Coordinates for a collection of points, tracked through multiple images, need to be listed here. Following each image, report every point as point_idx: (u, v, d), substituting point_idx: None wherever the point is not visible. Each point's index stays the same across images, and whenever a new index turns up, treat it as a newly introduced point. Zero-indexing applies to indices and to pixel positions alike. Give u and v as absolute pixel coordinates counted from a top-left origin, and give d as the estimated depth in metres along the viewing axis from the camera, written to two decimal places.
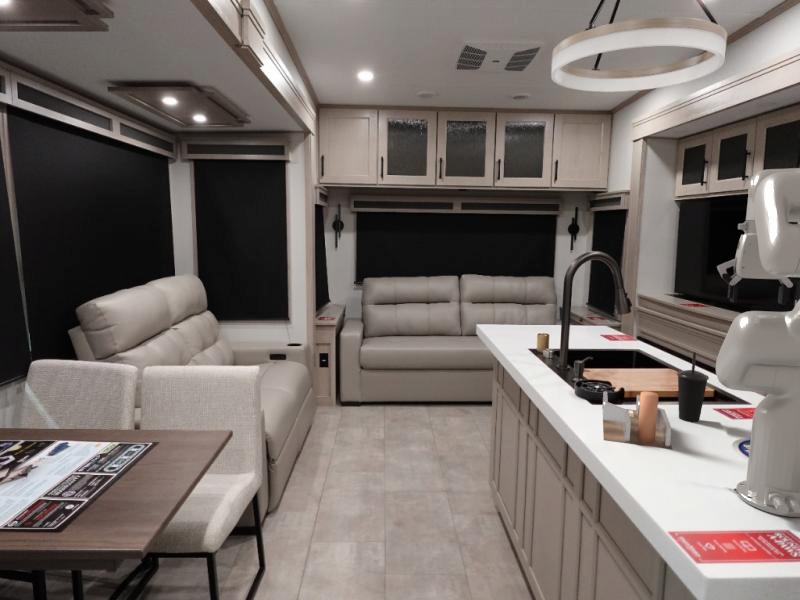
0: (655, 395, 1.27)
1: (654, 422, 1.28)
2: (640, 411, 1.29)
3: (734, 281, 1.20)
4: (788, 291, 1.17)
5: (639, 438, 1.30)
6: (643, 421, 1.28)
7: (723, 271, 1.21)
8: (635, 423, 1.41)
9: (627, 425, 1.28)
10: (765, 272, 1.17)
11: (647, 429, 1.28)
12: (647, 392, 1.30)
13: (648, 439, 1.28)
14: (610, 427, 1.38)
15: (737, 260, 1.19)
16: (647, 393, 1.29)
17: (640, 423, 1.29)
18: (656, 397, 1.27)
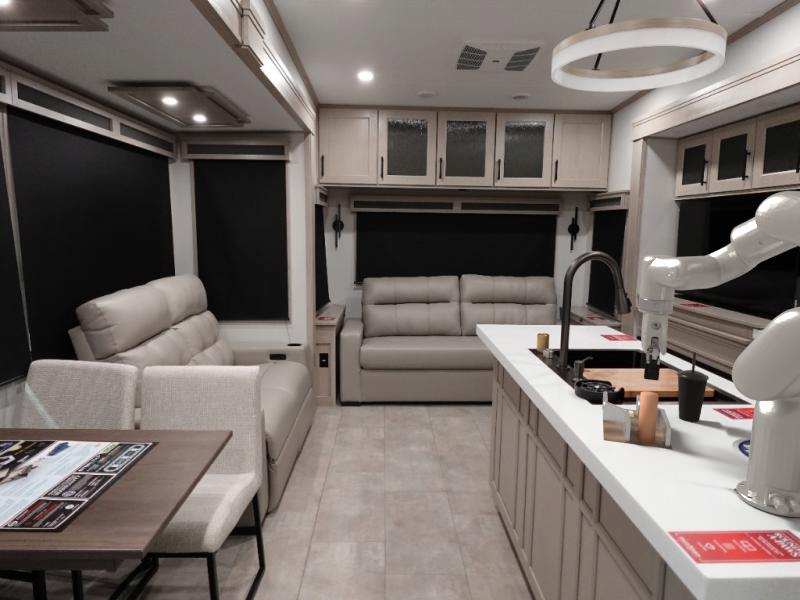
0: (655, 395, 1.27)
1: (654, 422, 1.28)
2: (640, 411, 1.29)
3: None
4: None
5: (639, 438, 1.30)
6: (643, 421, 1.28)
7: (657, 353, 1.20)
8: (635, 423, 1.41)
9: (627, 425, 1.28)
10: None
11: (647, 429, 1.28)
12: (647, 392, 1.30)
13: (648, 439, 1.28)
14: (610, 427, 1.38)
15: (661, 340, 1.22)
16: (647, 393, 1.29)
17: (640, 423, 1.29)
18: (656, 397, 1.27)
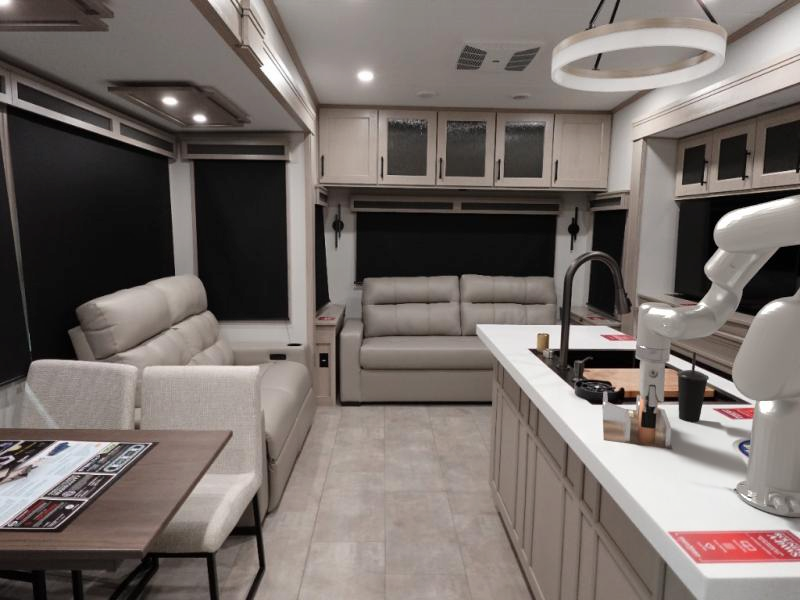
0: None
1: None
2: (640, 411, 1.29)
3: (655, 409, 1.26)
4: None
5: (639, 438, 1.30)
6: None
7: None
8: (635, 423, 1.41)
9: (627, 425, 1.28)
10: None
11: (647, 429, 1.28)
12: None
13: (648, 439, 1.28)
14: (610, 427, 1.38)
15: (658, 388, 1.23)
16: None
17: (640, 423, 1.29)
18: None
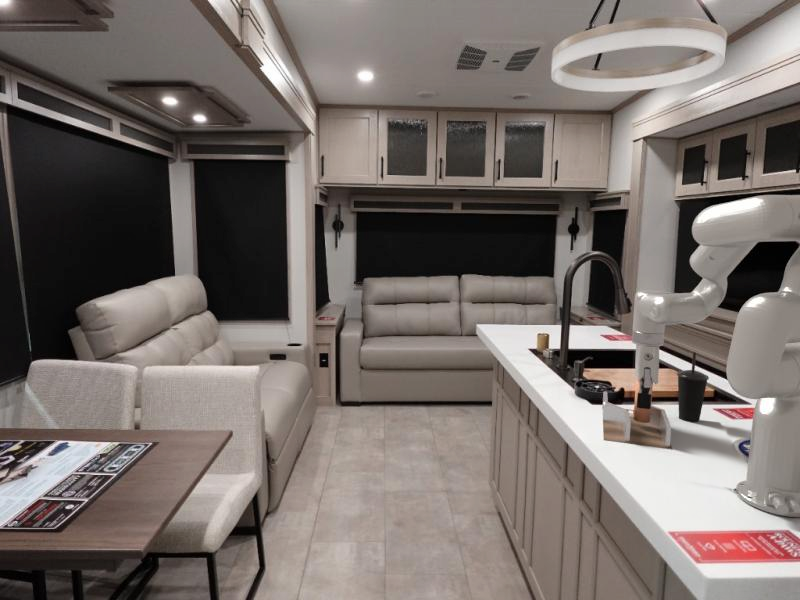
0: None
1: None
2: (636, 393, 1.37)
3: None
4: None
5: (635, 418, 1.37)
6: None
7: None
8: (635, 423, 1.41)
9: (627, 425, 1.28)
10: None
11: (642, 409, 1.36)
12: None
13: (643, 419, 1.36)
14: (610, 427, 1.38)
15: (653, 370, 1.31)
16: None
17: (636, 404, 1.37)
18: None
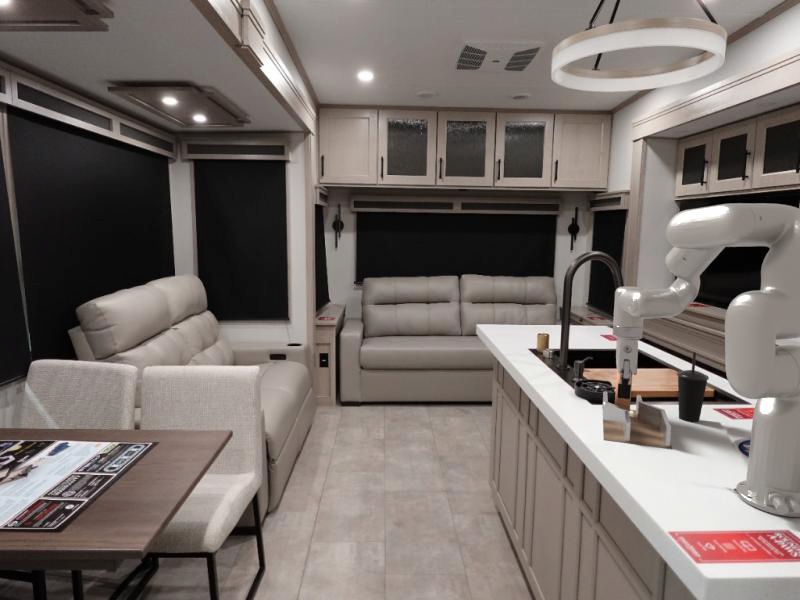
0: None
1: None
2: (617, 384, 1.44)
3: (629, 381, 1.41)
4: None
5: None
6: None
7: None
8: (635, 423, 1.41)
9: (627, 425, 1.28)
10: None
11: (623, 399, 1.43)
12: None
13: (624, 408, 1.44)
14: (610, 427, 1.38)
15: (632, 362, 1.38)
16: None
17: None
18: None
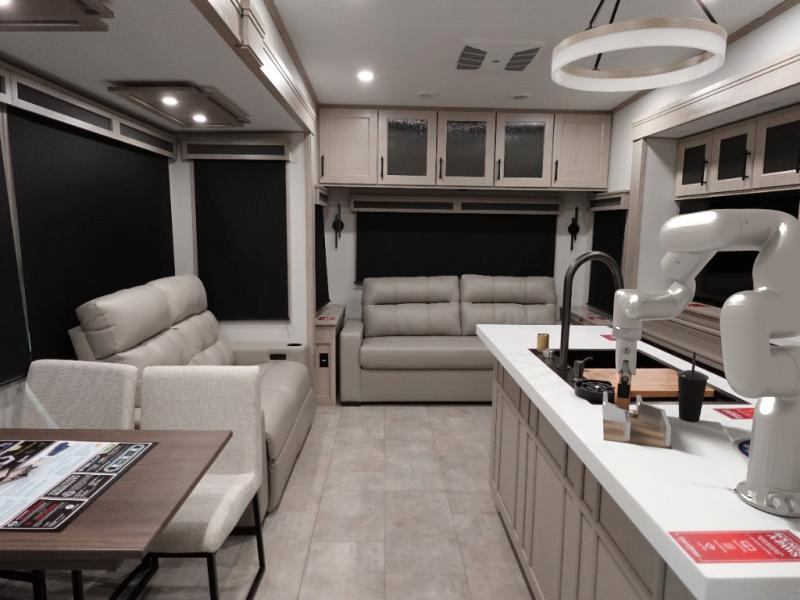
0: None
1: None
2: (616, 387, 1.47)
3: None
4: None
5: None
6: None
7: (627, 376, 1.41)
8: (635, 423, 1.41)
9: (627, 425, 1.28)
10: None
11: (622, 402, 1.47)
12: None
13: None
14: (610, 427, 1.38)
15: (630, 362, 1.42)
16: None
17: (616, 398, 1.48)
18: None
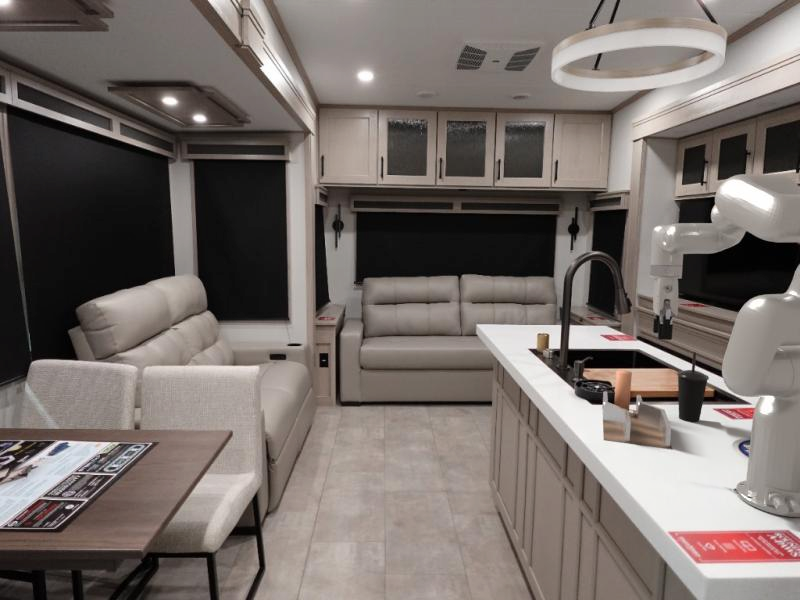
0: (629, 373, 1.46)
1: (628, 396, 1.47)
2: (616, 387, 1.48)
3: (671, 321, 1.33)
4: None
5: None
6: (618, 395, 1.47)
7: (670, 313, 1.30)
8: (635, 423, 1.41)
9: (627, 425, 1.28)
10: None
11: (622, 402, 1.47)
12: (622, 371, 1.48)
13: None
14: (610, 427, 1.38)
15: (672, 302, 1.32)
16: (622, 371, 1.48)
17: (616, 398, 1.48)
18: (629, 374, 1.46)
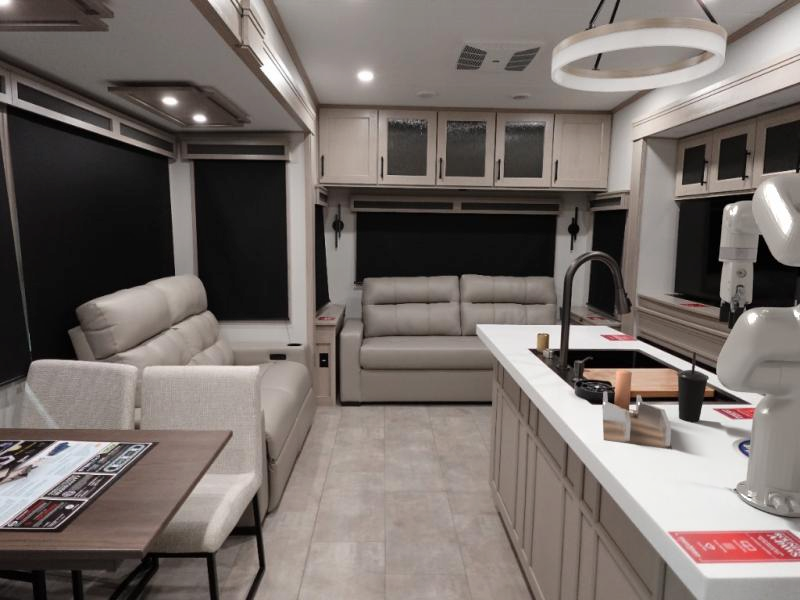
0: (629, 373, 1.46)
1: (628, 396, 1.47)
2: (616, 387, 1.48)
3: None
4: None
5: None
6: (618, 395, 1.47)
7: None
8: (635, 423, 1.41)
9: (627, 425, 1.28)
10: None
11: (622, 402, 1.47)
12: (622, 371, 1.48)
13: None
14: (610, 427, 1.38)
15: (746, 288, 1.20)
16: (622, 371, 1.48)
17: (616, 398, 1.48)
18: (629, 374, 1.46)
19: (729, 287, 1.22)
